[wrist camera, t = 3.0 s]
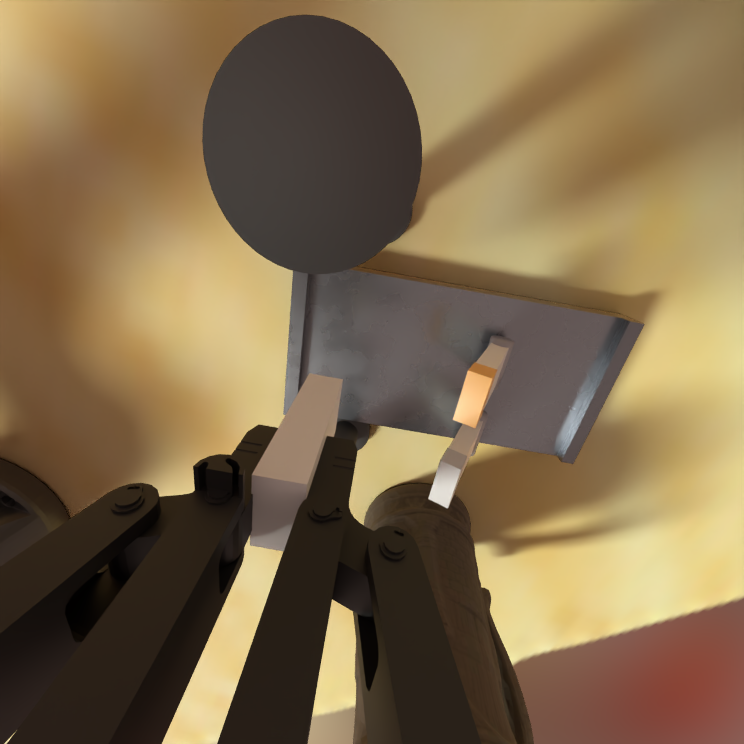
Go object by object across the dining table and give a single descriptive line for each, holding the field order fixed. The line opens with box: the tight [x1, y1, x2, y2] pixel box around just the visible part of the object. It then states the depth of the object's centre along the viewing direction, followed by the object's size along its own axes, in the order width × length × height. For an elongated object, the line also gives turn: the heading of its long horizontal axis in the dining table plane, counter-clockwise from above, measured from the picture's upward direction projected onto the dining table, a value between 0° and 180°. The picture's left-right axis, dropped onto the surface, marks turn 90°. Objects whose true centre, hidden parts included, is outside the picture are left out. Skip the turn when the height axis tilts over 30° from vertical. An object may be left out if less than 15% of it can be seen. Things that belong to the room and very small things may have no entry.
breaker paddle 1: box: [453, 335, 514, 428], centre depth 22 cm, size 2×4×8 cm, turn 171°
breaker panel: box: [283, 267, 644, 464], centre depth 27 cm, size 24×12×3 cm, turn 81°
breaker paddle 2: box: [428, 410, 488, 508], centre depth 24 cm, size 2×4×8 cm, turn 171°
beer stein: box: [353, 484, 534, 744], centre depth 27 cm, size 15×11×20 cm
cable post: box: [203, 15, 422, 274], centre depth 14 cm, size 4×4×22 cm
